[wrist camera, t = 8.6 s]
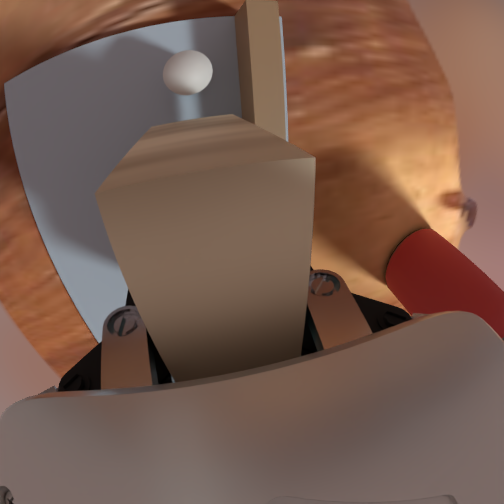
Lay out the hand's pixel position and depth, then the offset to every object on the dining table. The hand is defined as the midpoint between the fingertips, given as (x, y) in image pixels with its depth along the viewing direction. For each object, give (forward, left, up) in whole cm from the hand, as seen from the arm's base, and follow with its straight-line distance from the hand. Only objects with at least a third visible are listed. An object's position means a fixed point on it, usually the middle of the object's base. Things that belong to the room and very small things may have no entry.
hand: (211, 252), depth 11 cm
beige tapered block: (0, 0, -1) cm, 1 cm away
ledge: (-5, +2, -5) cm, 7 cm away
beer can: (-7, -17, -5) cm, 19 cm away
